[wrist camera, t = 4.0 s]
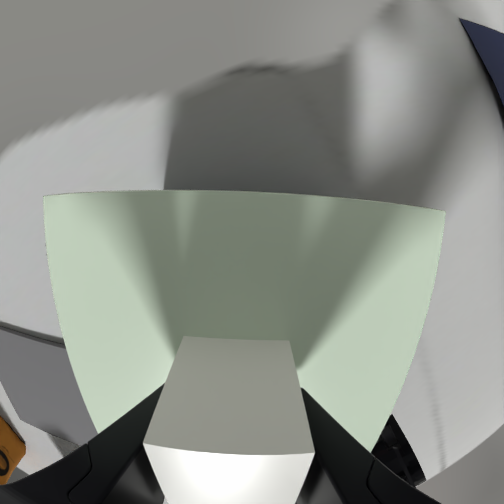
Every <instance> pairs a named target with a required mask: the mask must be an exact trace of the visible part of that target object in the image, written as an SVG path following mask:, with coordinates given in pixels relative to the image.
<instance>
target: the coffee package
mask: <svg viewBox="0 0 504 504" xmlns="http://www.w3.org/2000/svg"><path fill="white" fill-rule="evenodd" d="M25 454H26V446H25V444H24V443H23V442H21V441H20V439H19V438H18V436H17V435H16V434H15V433H14V432H13V431H12V430H11V428H10V427H9V425H8V424H7V423H6V422H5V421H4V420H3V418H2V417H1V416H0V485H4V484H6V483H7V481H8V479H9V478H10V476H11V473H12V472H13V470H14V469H15V467H16V466H17V465H18V463H19V462H20V460H21V459H22V458H23V456H24V455H25Z"/></svg>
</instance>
